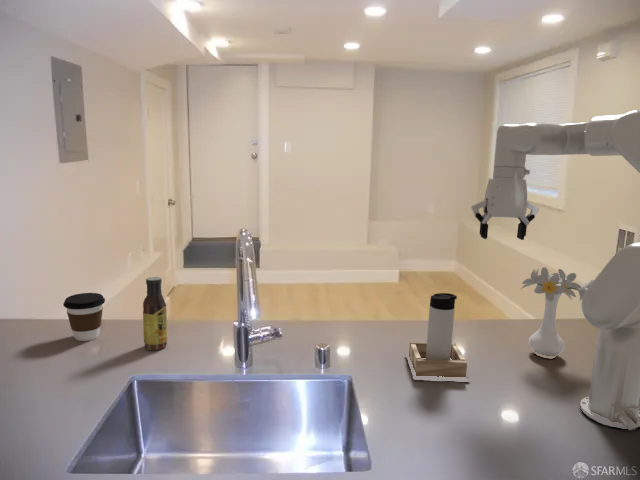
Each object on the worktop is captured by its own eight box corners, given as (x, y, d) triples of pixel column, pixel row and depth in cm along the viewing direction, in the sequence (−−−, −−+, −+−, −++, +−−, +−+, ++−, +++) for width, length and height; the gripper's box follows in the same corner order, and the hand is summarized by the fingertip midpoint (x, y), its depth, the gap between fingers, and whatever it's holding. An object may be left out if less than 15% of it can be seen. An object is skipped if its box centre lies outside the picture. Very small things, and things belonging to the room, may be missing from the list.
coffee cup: (57, 341, 144) (53, 301, 141) (85, 328, 154) (82, 290, 152) (89, 346, 141) (86, 305, 138) (115, 332, 151) (113, 294, 149)
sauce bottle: (163, 351, 139) (160, 282, 135) (140, 351, 139) (137, 281, 135) (170, 342, 145) (168, 275, 141) (149, 341, 146) (146, 275, 142)
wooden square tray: (469, 382, 126) (471, 364, 125) (413, 380, 126) (414, 362, 125) (456, 358, 140) (457, 341, 139) (405, 356, 140) (406, 340, 139)
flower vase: (590, 365, 138) (603, 277, 133) (523, 363, 138) (534, 275, 133) (567, 346, 151) (578, 264, 146) (506, 344, 151) (514, 263, 146)
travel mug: (444, 374, 128) (451, 299, 124) (421, 366, 132) (426, 293, 128) (454, 366, 133) (460, 293, 129) (431, 359, 137) (436, 288, 133)
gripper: (536, 173, 134) (529, 236, 137) (470, 171, 134) (465, 235, 137) (548, 175, 127) (540, 242, 130) (479, 173, 127) (473, 240, 130)
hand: (502, 238), depth 134 cm, fingers open, 9 cm apart
